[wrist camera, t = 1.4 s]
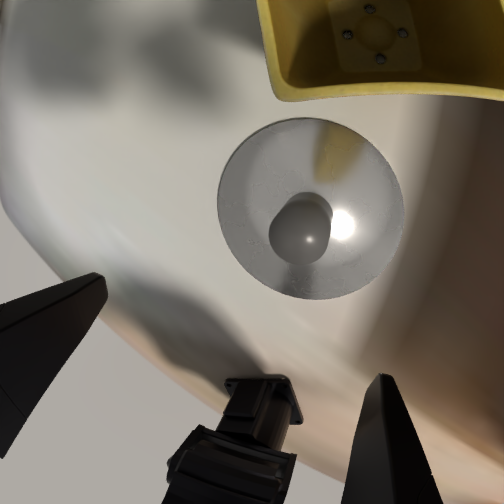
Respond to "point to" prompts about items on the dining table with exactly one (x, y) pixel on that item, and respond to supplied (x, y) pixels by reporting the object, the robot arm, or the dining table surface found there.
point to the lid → (311, 209)
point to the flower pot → (383, 48)
